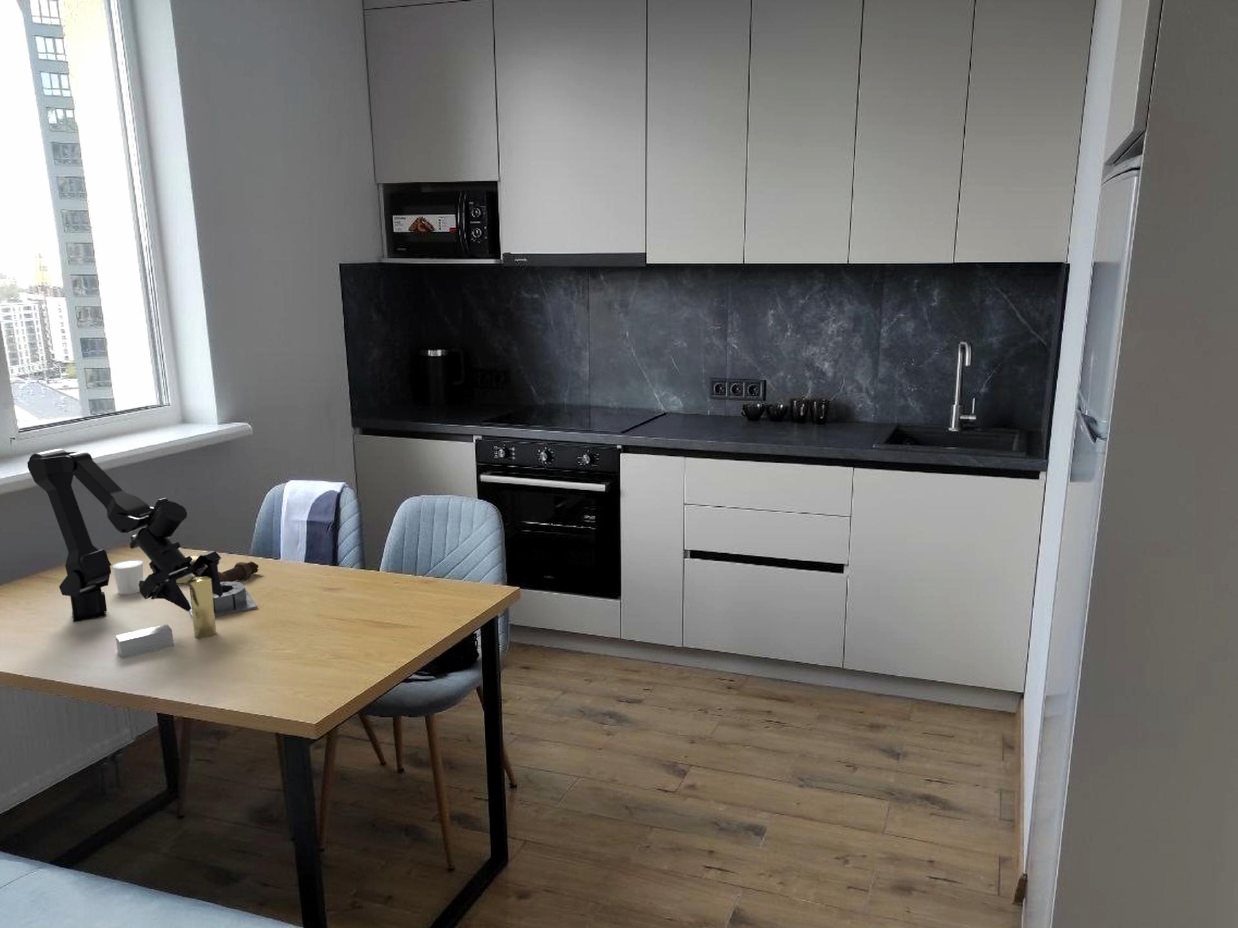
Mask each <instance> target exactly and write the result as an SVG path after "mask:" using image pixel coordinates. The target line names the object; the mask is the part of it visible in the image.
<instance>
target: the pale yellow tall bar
mask: <svg viewBox="0 0 1238 928" xmlns="http://www.w3.org/2000/svg"><path fill="white" fill-rule="evenodd" d="M188 583H189V594H190V599H191V606H192V615H193V619H192V622H193V623H192V625H193V633H194V635H193V636H194V637H195V638H197V639H203V638H204V639H205V638H210V637H212V636H213V637H214V636H215V635H216V634H217V627H216V626H217V624H216V617H215V613H214V603H213V593H212V583H211V578H210V577H197V576H196V577H193V578H192V579H190V580H189V581H188Z"/></svg>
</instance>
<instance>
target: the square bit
mask: <svg viewBox="0 0 1238 928" xmlns="http://www.w3.org/2000/svg"><path fill="white" fill-rule="evenodd" d="M115 641H116V649H117V654H118V655H119V657H120V658H121V659H126V658H129V657H135V656H139V655H143V654H147V653H150V652H151V653H152V652H155V651H159V650H164V649H167V648H172V647H174V646H175V645H174V644H175V643H174V635H173V629H172V628H171V627H170V626H169V625H168V624H167V623H166V624H162V625H157V626H153V627H148V628H143V629H139V630H134V631H130V632H126V633H122V634H117V635H115Z"/></svg>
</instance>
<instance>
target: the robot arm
mask: <svg viewBox="0 0 1238 928" xmlns="http://www.w3.org/2000/svg"><path fill="white" fill-rule="evenodd" d="M26 466H27V469H28V472H29V474H30V475H31V477H32V479H33V481H34V483H35V484H36V485H37V486H39V487H40V488H41V489H42V490H44V491H45V492H46V494H47V496H48V498H49V501H50V504H51V506H52V507H51V508H52V509H53V513H54V516H55V518H56V521H57V524H58V526H59V527H58V528H59V529H60V532H61V534H62V537H63V540H64V544H65V546H66V548H67V552H68V554H67V557H66V562H65V565H64V567H65V571H66V574H67V575H66V577H64V579H63V581H62V582H61V584H60V585H59V586H58V588H59V590H60V593H61V595H62V596H66V597H67V596H68V597H70V604H71V609H72V612H71V615H72V622H74V623H76V622H77V623H78V622H83V621H87V620H88V621H89V620H92V619H98V618H104V617H106V612H107V611H108V608H107V599H106V594H105V591H102V588H103V587H107V586H109V581H110V575H111V574H112V568H111V566H112V563H111V562H110V560H109V557H108V554H107V551H106V550H105V549H98V548H97V546H95V545H94V544H93V542H92V539H91V536H90V534H89V531H88V528H87V525H86V522H85V520H84V517H83V514H82V511H81V508H80V506H79V503H78V500H77V497H76V494H75V492H74V489H73V485H72V484H73V481H74V477H75V478H76V479H77V481H79V482H80V483H81V484H82V485H83V486H84V487H85V488H86V489H87V490H88V492H90V493H91V494H92V495H93V496H94V497H95V498H96V499H97V500H98V501H99V502H100V503H101V504H102V505H103V506H104V508H105V509H106V516H107V519H108V521H110V523H111V525H112V526H113V527H114V528H115V529H116V530H117V531H118V532H119V533H121V534H127V533H132V532H135V531H137V530H139V531H138V532H137V533H136V534H134V535H131V536H130V542H129V543H130V544H129V548H130V549H131V550H133V549H136V548H138V547H139V548H140V549H141V550H142V552H143V553H144V555H146V557H148V560H150V562H149V563H148V565H149V568H150V569H151V571H152V573H150V574H148V575H147V576H146V577H145V578H143V580H140V582H139V585H138V586H139V590H140V592H139V594H140V596H142V598H143V599H144V600H148V599H151V600H152V601H153V600H157V599H161V600H162V599H163V600H166V601H168V602H170V603H172V604H174V605H175V606H176V607H177V606H178V607H179V608H180V609H183V610H184V611H186V612H189V611H190V609H191V606H190V604H189V602H188V598H187V596H185V594H184V593H183V591H182V590H181V588H180V586H179V585H178V584H179V583H176V580H177V579H179V578H182V577H184V576H187V575H189V574H192V575H193V576H194V577H196V578H197V577H210V578H211V583H212V591H213V592H214V593H215V594H216V595H218V596H219V597H221V596H222V595H223V592H222V588H221V584H220V579H219V574H218V572H219V564H220V561H221V559H222V557H221V555H219V554H218V552H217V551H214V550H210V551H208V552H204V553H203V554H200V555H199V556H198V558H197V559H195V560H196V561H195V562H194V563H193V564H190V562H191V561H193V559H192V558H191V557H190V556H191V555H187V556H188V557H186V556H185V555H184V553H183V552H182V551H181V550H180V549H179V548H181V546H182V545H181V544H180V542H178V541H177V542H175V543H174V542H173V541H172V539H170V537H172V536H174V535H175V533H176V532H177V530H178V529H179V528H180V526H181V525H182V524H183V523H184V521H185V520H187V519H186V518H187V517H188V512H187V509H186V508H185V506H183V505H181V504H179V503H177V502H175V501H170V500H169V499H168V498H167V497H164V498H160V499H158V500H157V501H156V502H155V505H154V507H153V506H150V505H149V503H147V502H145V501H144V500H143V499H141V498H140V497H138V496H136V495H134V494H133V495H132V494H131V493H127V492H125V490H123V489H122V487H120V486H119V485H118V484H117V483H116V482H115V481H114V480H113V479H112V478H111V476H109V475H108V474H107V473H106V472H105V471H104V470H103V469H102V468H101V467H100V466H99V464H97V463H96V462H95V461H94V459H93V457H92V455H91V454H90V453H89V452H88V451H87V452H86V451H66V450H65V449H62V448H55V449H50V450H45V451H40V452H35V453H33V454H31V455H30V457H29V460H28V461H27V465H26Z"/></svg>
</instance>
